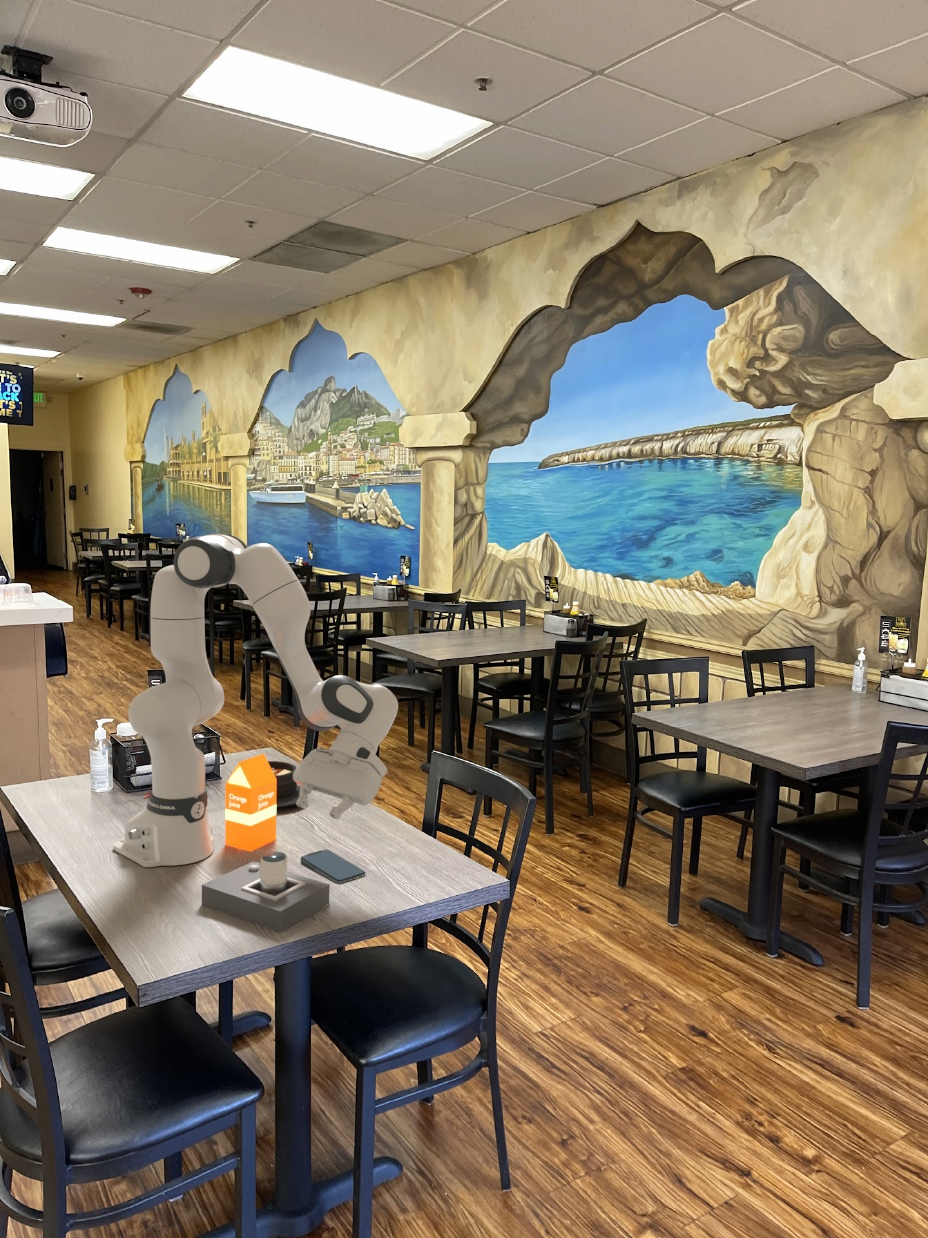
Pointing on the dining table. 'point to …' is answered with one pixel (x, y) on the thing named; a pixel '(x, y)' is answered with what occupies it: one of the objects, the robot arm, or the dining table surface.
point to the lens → (273, 873)
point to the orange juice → (251, 805)
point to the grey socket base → (264, 897)
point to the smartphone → (332, 866)
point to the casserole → (285, 783)
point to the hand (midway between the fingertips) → (316, 811)
